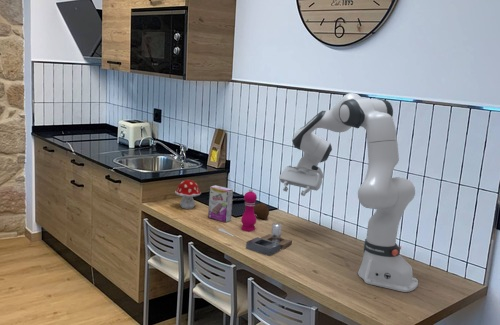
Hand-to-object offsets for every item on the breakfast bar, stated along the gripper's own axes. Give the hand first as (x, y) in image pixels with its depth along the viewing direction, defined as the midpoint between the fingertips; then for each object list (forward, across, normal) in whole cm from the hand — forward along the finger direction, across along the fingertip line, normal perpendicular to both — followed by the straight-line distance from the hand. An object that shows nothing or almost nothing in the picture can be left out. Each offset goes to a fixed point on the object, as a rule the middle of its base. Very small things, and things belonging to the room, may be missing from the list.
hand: (293, 192), depth 233 cm
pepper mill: (+19, -20, +11) cm, 30 cm away
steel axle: (+24, 0, +6) cm, 25 cm away
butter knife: (+28, -18, +2) cm, 34 cm away
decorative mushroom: (+15, -64, +16) cm, 67 cm away
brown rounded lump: (+5, -26, +26) cm, 37 cm away
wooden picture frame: (+24, 0, +6) cm, 25 cm away
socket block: (+31, 0, -1) cm, 31 cm away
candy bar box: (+18, -39, +13) cm, 44 cm away
